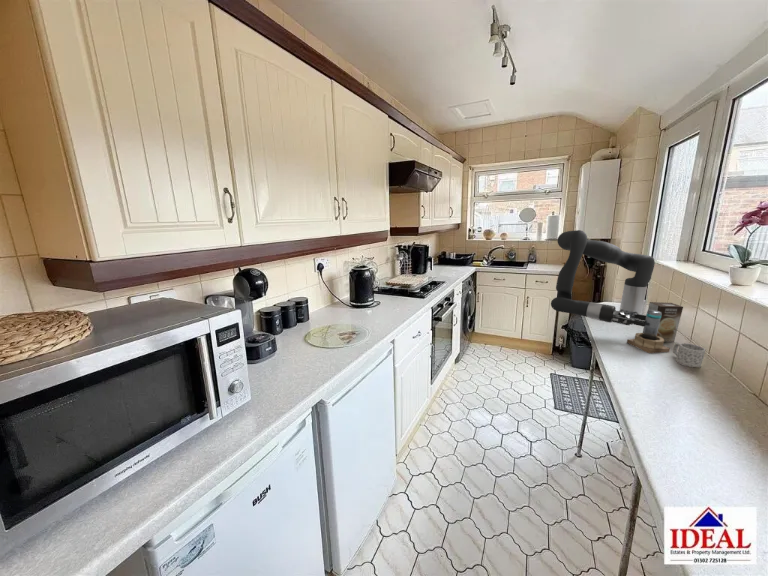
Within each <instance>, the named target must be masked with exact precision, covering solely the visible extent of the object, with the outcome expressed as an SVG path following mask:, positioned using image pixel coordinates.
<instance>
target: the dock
mask: <svg viewBox="0 0 768 576" xmlns="http://www.w3.org/2000/svg"><path fill="white" fill-rule="evenodd" d="M642 334H643V332H636V333H635V334H634V335H635V336H634V338H629V339H627V340H626V344H629V345H631V346H633V347H636V348H637V349H640V350H641V351H644V352H646V353H648V354H657V353H659V354H660V353H670V351H671V350H670V349H671V348H670V347H668V346H665V344H664V343H665V341H664V339H663V338H661V337H659V336H657V337H656V340H655V341H654V340H649V339H645V338H642Z"/></svg>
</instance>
